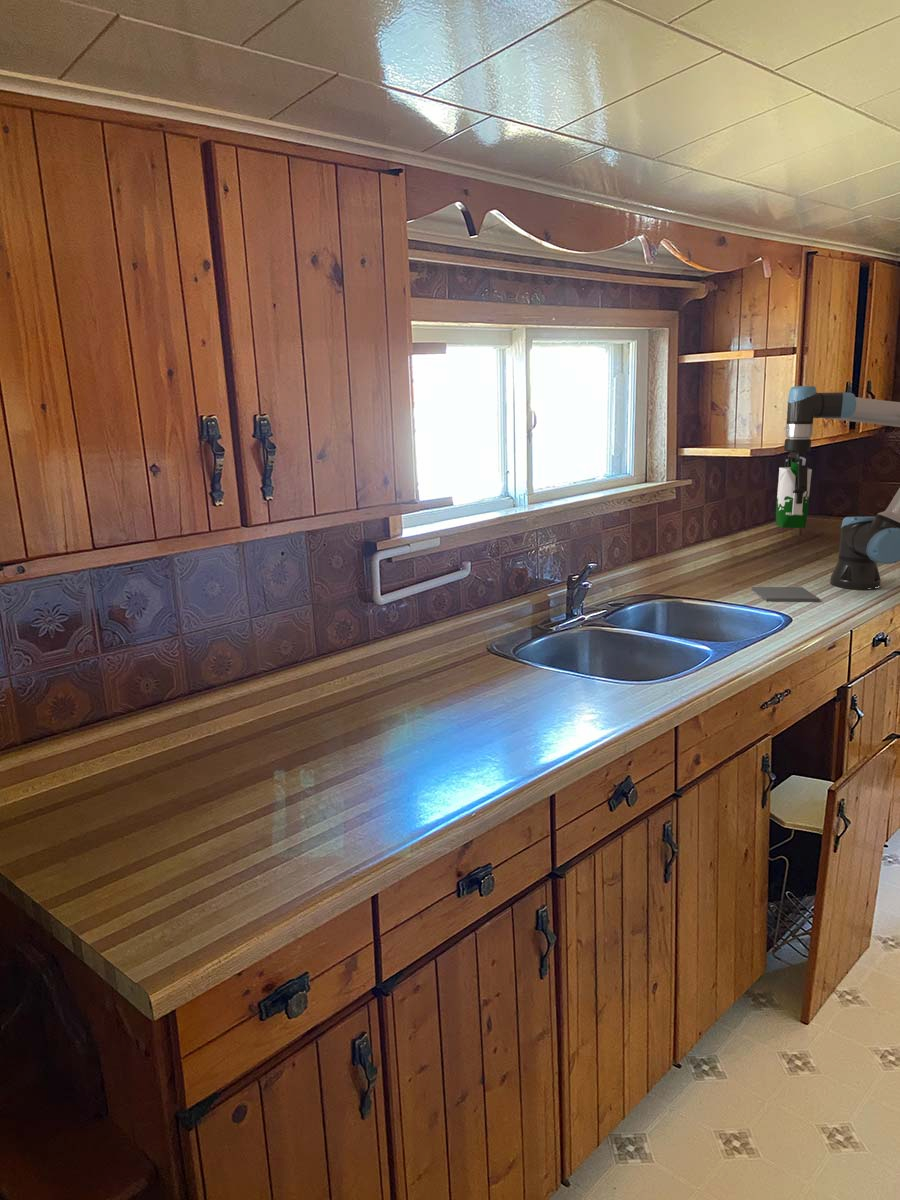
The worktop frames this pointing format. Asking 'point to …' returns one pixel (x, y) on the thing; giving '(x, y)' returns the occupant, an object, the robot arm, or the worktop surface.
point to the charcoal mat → (785, 594)
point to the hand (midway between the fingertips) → (791, 512)
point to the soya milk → (790, 498)
